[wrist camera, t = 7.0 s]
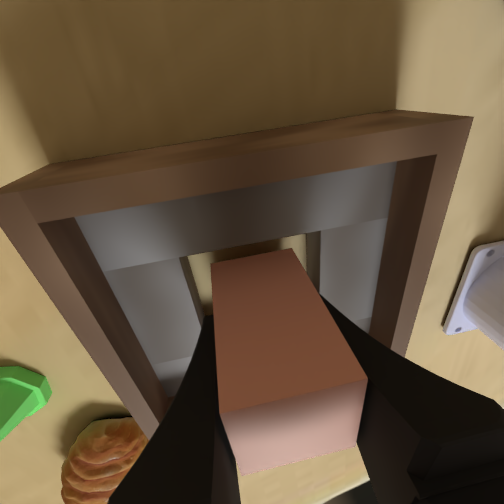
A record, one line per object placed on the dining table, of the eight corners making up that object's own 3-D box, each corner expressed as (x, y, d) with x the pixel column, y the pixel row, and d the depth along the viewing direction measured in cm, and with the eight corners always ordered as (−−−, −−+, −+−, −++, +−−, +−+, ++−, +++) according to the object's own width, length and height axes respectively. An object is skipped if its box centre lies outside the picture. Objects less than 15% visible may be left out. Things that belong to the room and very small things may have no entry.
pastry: (62, 410, 19) (34, 475, 16) (161, 406, 21) (154, 463, 18) (75, 471, 24) (56, 532, 20) (156, 463, 25) (150, 518, 22)
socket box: (396, 109, 12) (474, 116, 9) (362, 335, 20) (396, 385, 17) (49, 164, 11) (-20, 197, 7) (160, 380, 19) (152, 444, 15)
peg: (291, 247, 13) (368, 378, 7) (294, 307, 15) (355, 446, 9) (210, 263, 13) (219, 413, 7) (224, 322, 15) (241, 476, 9)
